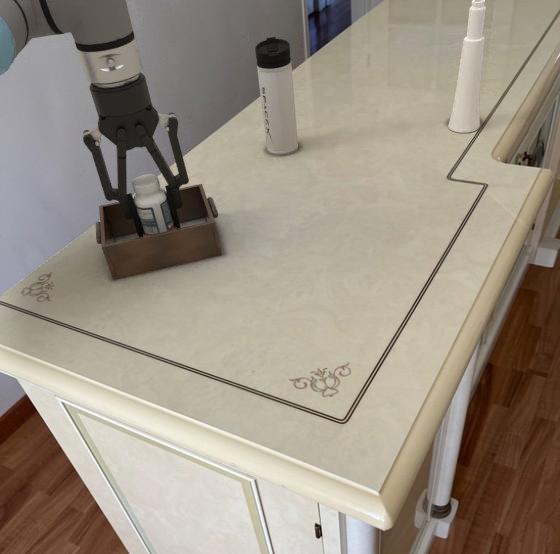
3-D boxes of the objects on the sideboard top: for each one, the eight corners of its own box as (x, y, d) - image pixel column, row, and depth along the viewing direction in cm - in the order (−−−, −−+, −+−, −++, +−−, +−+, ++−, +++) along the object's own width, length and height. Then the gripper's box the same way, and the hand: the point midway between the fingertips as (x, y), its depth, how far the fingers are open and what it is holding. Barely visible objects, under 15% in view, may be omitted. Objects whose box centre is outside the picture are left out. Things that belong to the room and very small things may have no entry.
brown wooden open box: (108, 285, 91) (94, 249, 86) (105, 241, 100) (92, 207, 96) (228, 257, 93) (221, 220, 88) (214, 217, 102) (207, 182, 98)
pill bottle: (169, 219, 97) (156, 168, 91) (180, 232, 93) (167, 181, 87) (139, 229, 95) (123, 178, 89) (149, 244, 92) (134, 192, 86)
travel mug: (297, 142, 120) (288, 34, 106) (299, 157, 115) (290, 45, 101) (266, 146, 120) (253, 39, 106) (268, 161, 116) (254, 50, 101)
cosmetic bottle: (470, 118, 120) (485, -7, 104) (485, 129, 116) (503, 1, 100) (442, 124, 119) (454, -1, 104) (456, 135, 115) (470, 7, 99)
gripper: (45, 101, 74) (103, 255, 91) (187, 73, 76) (219, 229, 93) (47, 82, 80) (102, 231, 96) (180, 56, 81) (211, 207, 98)
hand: (159, 230), depth 94 cm, fingers closed on pill bottle, 5 cm apart
